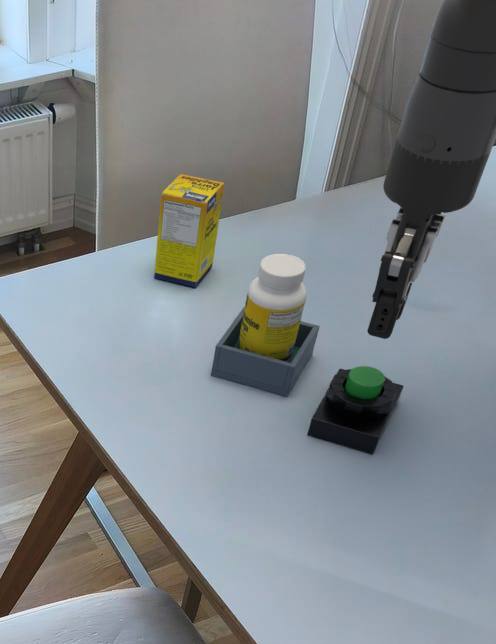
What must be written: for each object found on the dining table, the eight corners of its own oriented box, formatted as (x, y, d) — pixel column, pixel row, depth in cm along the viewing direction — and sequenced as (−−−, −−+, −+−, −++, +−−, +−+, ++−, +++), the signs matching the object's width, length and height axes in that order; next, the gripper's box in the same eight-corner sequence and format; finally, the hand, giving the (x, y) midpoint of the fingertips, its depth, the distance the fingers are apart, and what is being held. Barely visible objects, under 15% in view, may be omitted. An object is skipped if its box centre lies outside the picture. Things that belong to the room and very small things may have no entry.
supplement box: (212, 267, 115) (226, 181, 107) (195, 289, 112) (207, 202, 104) (170, 257, 117) (180, 172, 109) (152, 278, 114) (161, 192, 105)
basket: (312, 355, 102) (320, 325, 99) (287, 396, 98) (294, 367, 95) (238, 335, 105) (243, 306, 102) (210, 375, 100) (215, 345, 98)
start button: (384, 385, 92) (389, 371, 91) (374, 404, 90) (379, 390, 89) (350, 376, 94) (354, 362, 92) (340, 394, 92) (344, 380, 90)
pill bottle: (230, 343, 103) (247, 251, 94) (282, 339, 103) (304, 247, 94) (242, 374, 99) (261, 281, 90) (297, 370, 99) (320, 277, 90)
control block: (397, 402, 96) (409, 370, 93) (373, 454, 91) (384, 423, 88) (334, 384, 99) (343, 353, 96) (306, 435, 93) (315, 403, 90)
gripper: (474, 181, 68) (404, 373, 81) (509, 114, 75) (439, 300, 89) (377, 162, 70) (324, 352, 84) (419, 99, 78) (365, 283, 91)
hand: (383, 325), depth 86 cm, fingers open, 3 cm apart
